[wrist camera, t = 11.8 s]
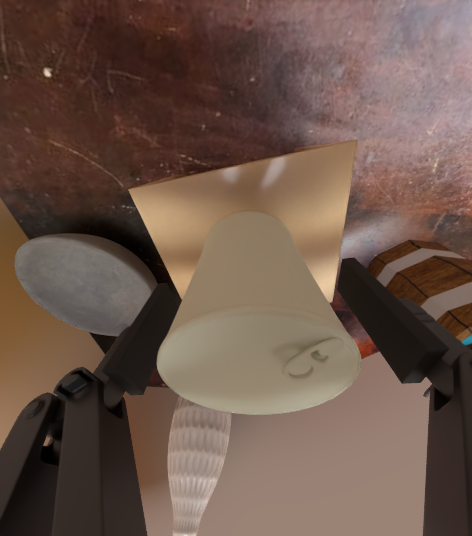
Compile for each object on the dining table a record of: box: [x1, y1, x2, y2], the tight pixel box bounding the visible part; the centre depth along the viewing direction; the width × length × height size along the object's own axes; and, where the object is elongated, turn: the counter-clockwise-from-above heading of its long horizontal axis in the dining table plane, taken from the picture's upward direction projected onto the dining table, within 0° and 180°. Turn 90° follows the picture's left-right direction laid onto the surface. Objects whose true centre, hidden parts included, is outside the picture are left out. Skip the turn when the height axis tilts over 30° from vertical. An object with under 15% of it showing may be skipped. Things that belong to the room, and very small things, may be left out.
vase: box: [168, 395, 231, 536], centre depth 38 cm, size 13×13×28 cm
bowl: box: [15, 233, 157, 336], centre depth 31 cm, size 21×21×8 cm
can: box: [157, 211, 361, 414], centre depth 13 cm, size 9×9×12 cm
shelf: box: [129, 140, 358, 302], centre depth 23 cm, size 16×18×12 cm
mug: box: [367, 240, 472, 351], centre depth 28 cm, size 20×14×15 cm
